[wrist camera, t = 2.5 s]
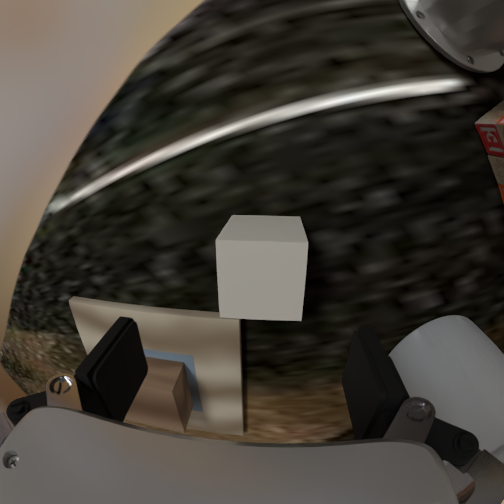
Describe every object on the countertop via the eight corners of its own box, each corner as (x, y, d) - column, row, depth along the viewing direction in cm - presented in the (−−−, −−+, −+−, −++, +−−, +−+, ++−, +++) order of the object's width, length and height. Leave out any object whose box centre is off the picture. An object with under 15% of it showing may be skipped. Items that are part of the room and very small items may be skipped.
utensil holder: (494, 295, 21) (586, 399, 5) (461, 389, 26) (506, 486, 10) (379, 322, 23) (449, 496, 7) (364, 416, 28) (386, 540, 12)
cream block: (232, 214, 21) (215, 240, 15) (300, 216, 21) (308, 242, 15) (233, 276, 23) (219, 317, 17) (296, 278, 22) (301, 320, 17)
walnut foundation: (121, 351, 26) (105, 376, 22) (183, 362, 25) (172, 391, 21) (137, 395, 28) (125, 419, 24) (193, 405, 28) (184, 432, 24)
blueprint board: (73, 296, 25) (68, 301, 24) (240, 313, 24) (239, 320, 23) (116, 406, 32) (113, 411, 31) (244, 429, 30) (243, 435, 29)
